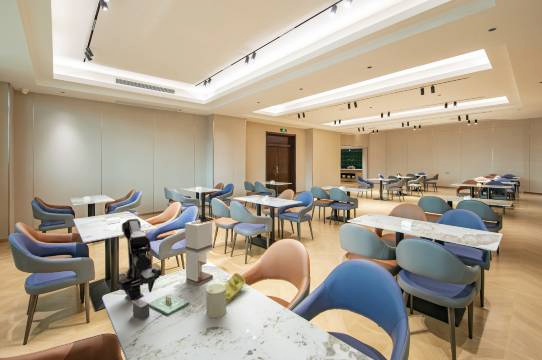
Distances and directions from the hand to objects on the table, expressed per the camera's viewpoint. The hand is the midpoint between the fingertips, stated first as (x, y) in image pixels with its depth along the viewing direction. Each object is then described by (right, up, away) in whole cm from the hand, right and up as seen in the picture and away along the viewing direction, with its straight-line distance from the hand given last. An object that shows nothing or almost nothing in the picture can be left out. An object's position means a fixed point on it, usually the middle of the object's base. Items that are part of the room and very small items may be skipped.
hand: (140, 296), depth 120 cm
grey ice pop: (-2, -9, +2) cm, 10 cm away
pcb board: (+9, -9, +10) cm, 16 cm away
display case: (+17, -7, +38) cm, 43 cm away
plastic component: (+38, -8, +21) cm, 44 cm away
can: (+34, -9, +3) cm, 36 cm away
